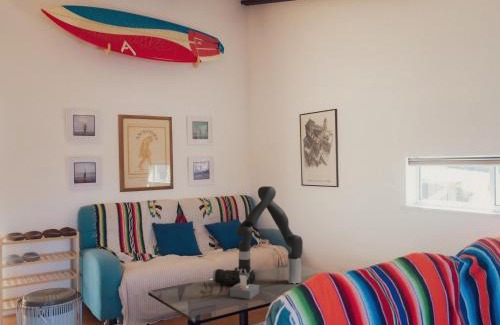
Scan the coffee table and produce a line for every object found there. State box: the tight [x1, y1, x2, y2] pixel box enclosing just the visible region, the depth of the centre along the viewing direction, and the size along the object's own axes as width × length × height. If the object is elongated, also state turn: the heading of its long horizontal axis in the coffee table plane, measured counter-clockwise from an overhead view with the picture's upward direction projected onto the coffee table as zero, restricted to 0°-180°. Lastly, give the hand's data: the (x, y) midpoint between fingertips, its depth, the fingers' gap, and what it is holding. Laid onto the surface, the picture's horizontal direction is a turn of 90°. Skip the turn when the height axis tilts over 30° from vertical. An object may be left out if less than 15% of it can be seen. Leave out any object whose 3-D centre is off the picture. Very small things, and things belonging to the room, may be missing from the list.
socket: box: [229, 283, 260, 300], centre depth 278 cm, size 14×14×6 cm
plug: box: [240, 273, 249, 288], centre depth 278 cm, size 4×4×11 cm
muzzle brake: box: [212, 268, 256, 286], centre depth 300 cm, size 10×28×10 cm, turn 78°
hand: (244, 284), depth 278 cm, fingers closed on plug, 4 cm apart
